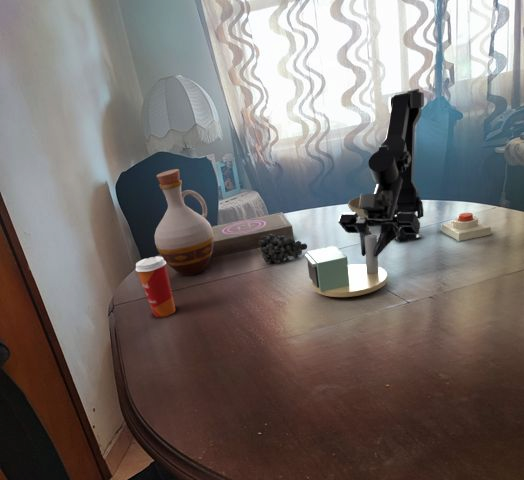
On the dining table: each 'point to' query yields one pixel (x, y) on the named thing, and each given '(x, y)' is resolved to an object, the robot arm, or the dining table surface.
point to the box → (466, 229)
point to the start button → (465, 217)
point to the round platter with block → (345, 271)
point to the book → (248, 233)
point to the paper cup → (156, 285)
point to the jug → (183, 229)
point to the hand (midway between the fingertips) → (369, 255)
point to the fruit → (279, 248)
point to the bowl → (356, 207)
